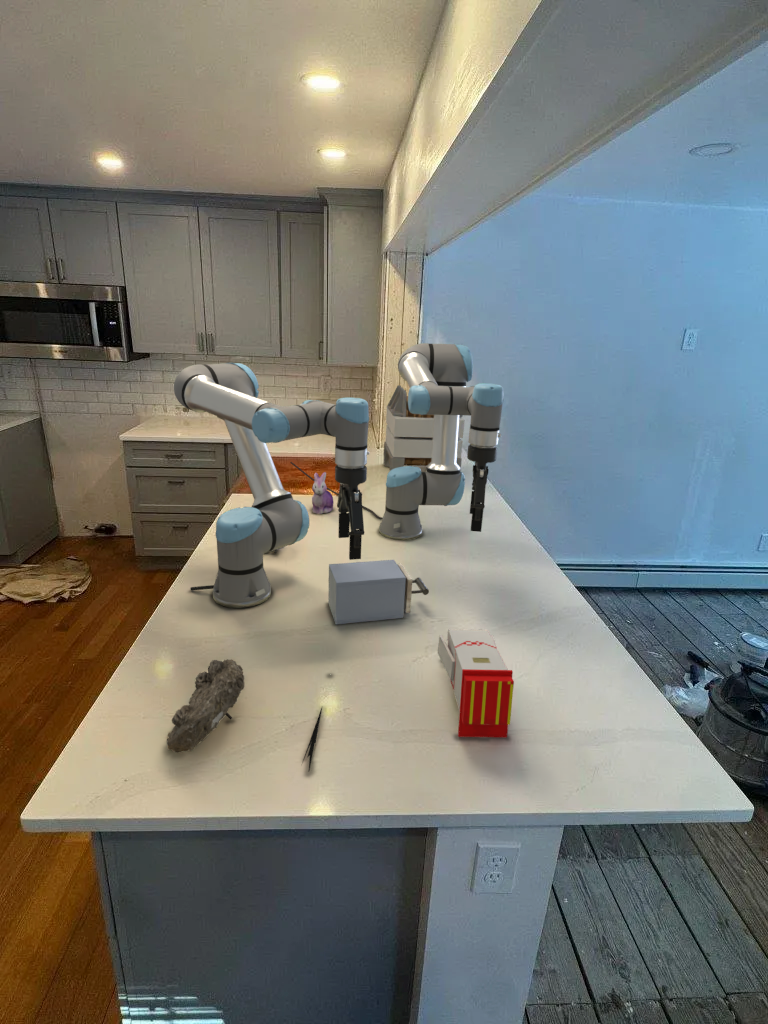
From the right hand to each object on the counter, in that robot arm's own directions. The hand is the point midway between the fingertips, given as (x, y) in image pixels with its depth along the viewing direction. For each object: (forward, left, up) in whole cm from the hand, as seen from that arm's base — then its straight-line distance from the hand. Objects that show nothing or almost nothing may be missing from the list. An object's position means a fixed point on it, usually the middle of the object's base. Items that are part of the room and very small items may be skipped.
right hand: (475, 522), depth 154 cm
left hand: (-11, -34, -3) cm, 36 cm away
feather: (+18, -63, -21) cm, 69 cm away
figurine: (-79, +5, -21) cm, 82 cm away
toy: (+30, -34, -21) cm, 50 cm away
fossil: (+5, -79, -21) cm, 82 cm away
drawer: (-7, -25, -20) cm, 33 cm away
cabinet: (-9, -30, -21) cm, 38 cm away
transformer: (-96, +74, -21) cm, 123 cm away
